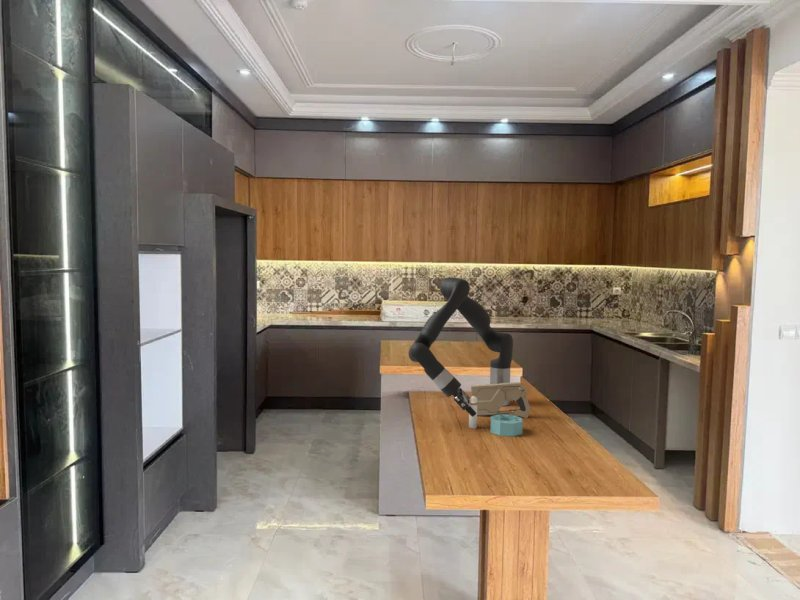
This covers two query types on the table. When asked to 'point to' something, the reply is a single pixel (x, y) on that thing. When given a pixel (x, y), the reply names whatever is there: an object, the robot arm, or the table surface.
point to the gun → (500, 398)
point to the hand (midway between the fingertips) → (474, 412)
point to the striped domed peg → (473, 405)
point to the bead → (506, 425)
